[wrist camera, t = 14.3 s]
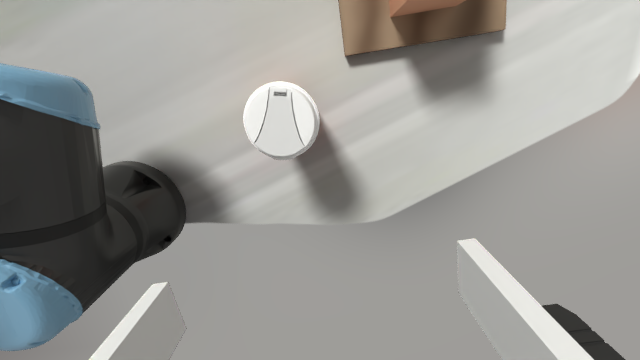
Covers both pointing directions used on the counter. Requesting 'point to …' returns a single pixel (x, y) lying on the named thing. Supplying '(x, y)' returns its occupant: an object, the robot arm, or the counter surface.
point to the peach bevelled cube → (419, 6)
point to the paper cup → (281, 120)
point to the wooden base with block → (414, 24)
